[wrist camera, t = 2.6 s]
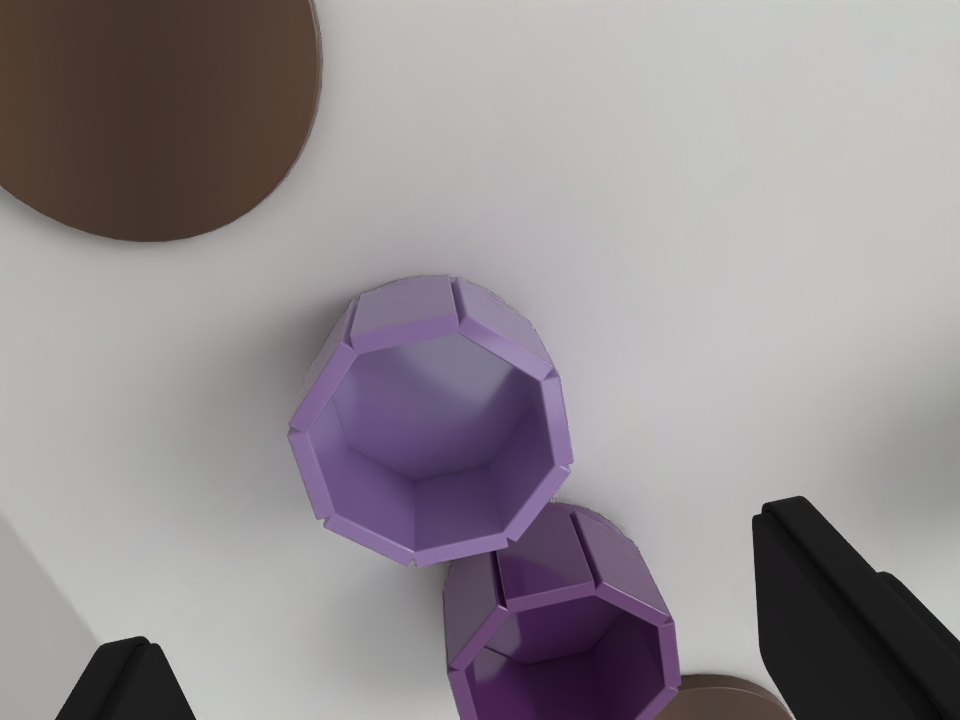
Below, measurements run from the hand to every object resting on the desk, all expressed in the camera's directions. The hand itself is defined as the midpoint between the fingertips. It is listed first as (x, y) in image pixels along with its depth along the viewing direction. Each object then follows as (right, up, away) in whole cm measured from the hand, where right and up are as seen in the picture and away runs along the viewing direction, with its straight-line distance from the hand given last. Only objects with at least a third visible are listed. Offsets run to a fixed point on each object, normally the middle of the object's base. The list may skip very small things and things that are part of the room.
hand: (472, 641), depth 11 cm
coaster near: (-8, +12, +5) cm, 15 cm away
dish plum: (+2, -3, +12) cm, 13 cm away
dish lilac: (-1, +4, +9) cm, 10 cm away
